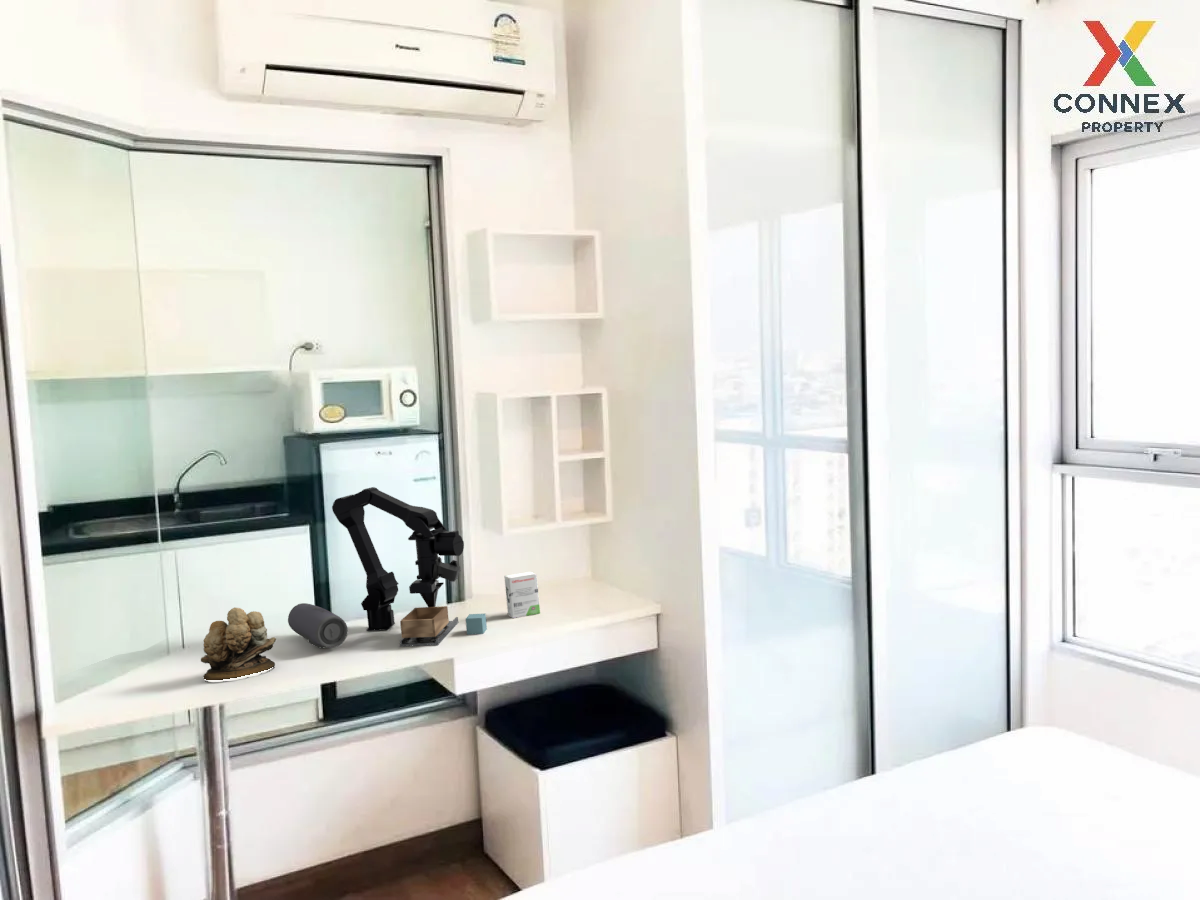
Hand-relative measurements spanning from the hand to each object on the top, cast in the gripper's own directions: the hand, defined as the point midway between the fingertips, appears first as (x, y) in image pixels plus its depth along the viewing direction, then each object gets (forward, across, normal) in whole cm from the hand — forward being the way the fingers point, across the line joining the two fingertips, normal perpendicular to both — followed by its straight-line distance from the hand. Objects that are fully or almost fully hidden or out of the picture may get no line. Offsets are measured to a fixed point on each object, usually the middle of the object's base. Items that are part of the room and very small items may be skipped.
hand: (432, 610), depth 269 cm
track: (+6, -4, 0) cm, 7 cm away
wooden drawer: (+6, -8, 0) cm, 9 cm away
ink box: (+6, +12, -23) cm, 27 cm away
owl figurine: (+6, -32, +41) cm, 52 cm away
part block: (+6, -4, -13) cm, 15 cm away
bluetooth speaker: (+6, -9, +30) cm, 32 cm away
